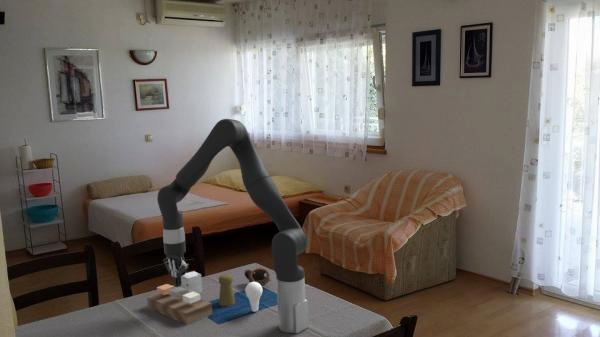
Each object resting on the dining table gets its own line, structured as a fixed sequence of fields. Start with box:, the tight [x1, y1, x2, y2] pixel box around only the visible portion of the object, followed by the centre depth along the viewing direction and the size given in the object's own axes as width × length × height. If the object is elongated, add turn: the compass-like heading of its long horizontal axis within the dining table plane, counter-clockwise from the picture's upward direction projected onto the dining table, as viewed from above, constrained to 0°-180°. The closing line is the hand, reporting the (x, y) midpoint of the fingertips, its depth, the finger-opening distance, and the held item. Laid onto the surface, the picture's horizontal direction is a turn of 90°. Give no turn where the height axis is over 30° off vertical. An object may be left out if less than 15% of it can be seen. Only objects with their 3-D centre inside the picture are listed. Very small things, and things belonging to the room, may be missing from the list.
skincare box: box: [181, 270, 203, 294], centre depth 206 cm, size 6×6×7 cm
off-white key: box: [183, 292, 202, 304], centre depth 183 cm, size 4×4×2 cm
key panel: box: [146, 292, 213, 325], centre depth 189 cm, size 24×11×4 cm, turn 49°
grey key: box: [169, 286, 187, 298], centre depth 188 cm, size 4×4×2 cm
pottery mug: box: [244, 267, 271, 287], centre depth 210 cm, size 12×10×8 cm
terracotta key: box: [156, 283, 175, 295], centre depth 193 cm, size 4×4×2 cm
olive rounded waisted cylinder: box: [218, 273, 236, 307], centre depth 193 cm, size 6×6×11 cm
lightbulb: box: [244, 282, 263, 313], centre depth 185 cm, size 6×6×11 cm
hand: (177, 286), depth 188 cm, fingers closed
